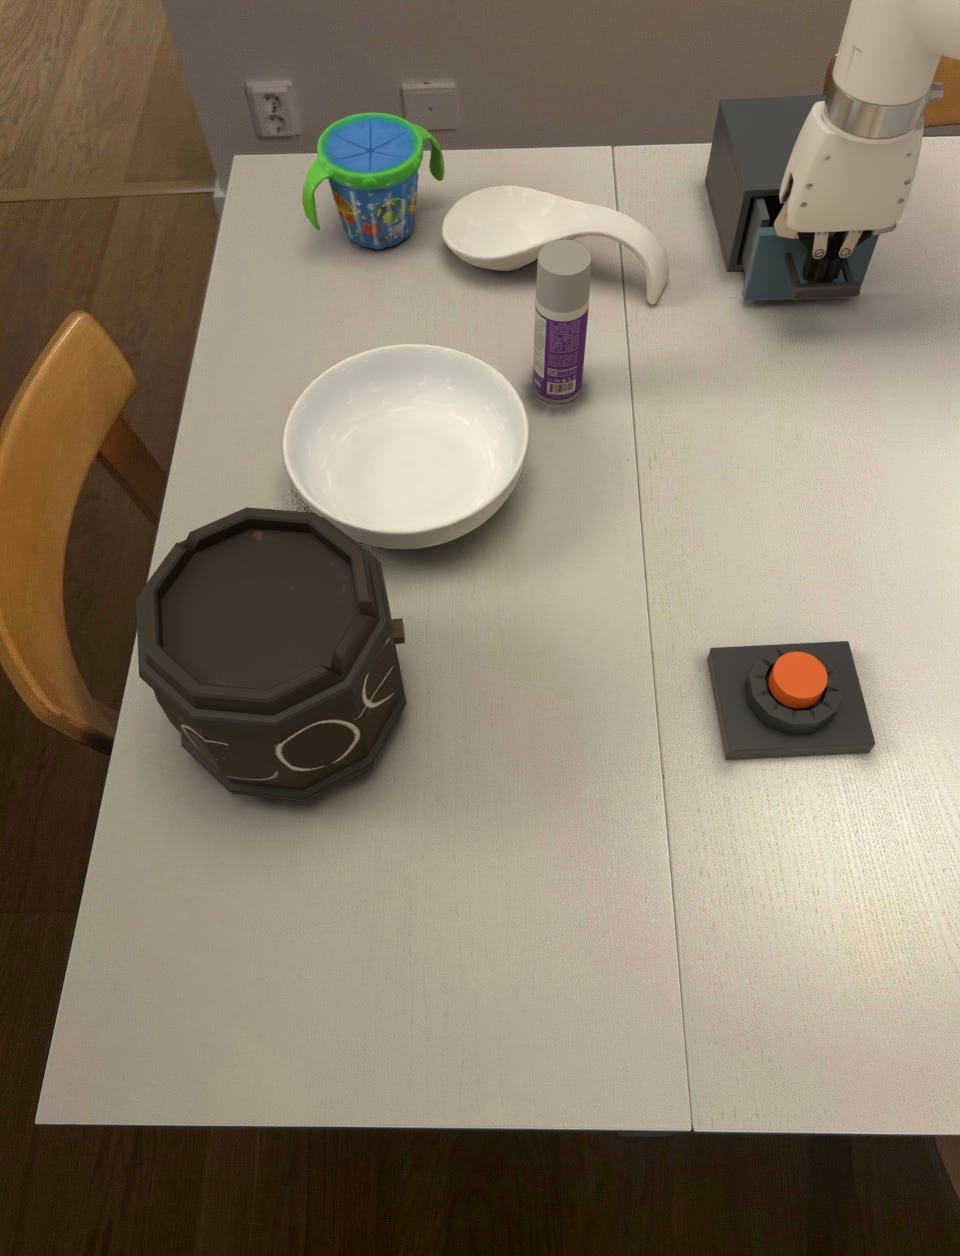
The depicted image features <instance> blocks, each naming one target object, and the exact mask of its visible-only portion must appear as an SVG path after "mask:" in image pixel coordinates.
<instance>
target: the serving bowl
mask: <svg viewBox="0 0 960 1256" xmlns="http://www.w3.org/2000/svg"><path fill="white" fill-rule="evenodd" d="M529 423H530V422H529V418H528V414H527V410H526V407H525V405H524V403H523V400H522V398H521V396H520V395H519V393H518V391H517V390H516V388H515V387H514V386H513V385H512V383H511V382H510V381H509V380H508V379H507V378H506V377H505V376H504V375H503V374H502V373H501V372H499V370H497V369H496V368H495V367H494V366H492V365H490V364H489V363H487V362H485V361H484V360H482V359H481V358H478V357H476V356H474V355H471V354H469V353H467V352H463V351H460V350H458V349H454V348H450V347H446V346H441V345H435V344H434V345H433V344H426V343H403V344H393V345H385V346H380V347H377V348H372V349H368V350H365V351H362V352H359V353H357V354H354V355H352V356H349V357H347V358H345V359H343V360H341V361H339V362H338V363H336V364H334V365H333V366H331V367H330V368H328V369H327V370H325V371H324V372H322V373H321V374H319V376H318V377H316V378H315V379H314V380H313V381H311V382H310V384H309V385H308V386H307V387H305V389H304V390H303V391H302V392H301V394H300V395H299V397H298V398H297V399H296V401H295V403H294V404H293V406H292V408H291V410H290V412H289V415H288V417H287V420H286V423H285V426H284V429H283V435H282V453H283V454H282V455H283V461H284V465H285V469H286V471H287V474H288V477H289V479H290V481H291V483H292V484H293V486H294V488H295V490H296V491H297V493H298V495H299V496H300V498H301V500H302V501H303V502H304V503H305V505H306V506H307V508H309V509H310V511H311V512H313V513H316V514H317V515H318V516H320V517H324V518H326V519H327V520H328V521H330V522H331V523H332V524H333V525H335V526H336V527H337V528H339V529H340V530H341V531H342V532H344V533H345V534H346V535H348V536H349V537H350V538H352V539H353V540H354V541H355V542H359V543H362V544H365V545H368V546H372V547H377V548H383V549H391V550H415V549H416V550H417V549H424V548H429V547H434V546H439V545H443V544H445V543H448V542H452V541H454V540H457V539H458V538H461V537H462V536H465V535H467V534H469V533H470V532H472V531H474V530H476V529H477V528H479V527H480V526H482V524H484V523H485V522H487V521H488V520H489V519H491V517H492V516H494V515H495V513H497V511H498V510H499V509H500V508H502V506H503V505H504V503H505V502H506V501H507V500H508V498H509V497H510V496H511V494H512V492H513V491H514V489H515V487H516V486H517V483H518V481H519V479H520V477H521V475H522V471H523V469H524V466H525V463H526V458H527V453H528V449H529V444H530V443H529V442H530V424H529Z"/></svg>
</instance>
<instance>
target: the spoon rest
mask: <svg viewBox="0 0 960 1256" xmlns="http://www.w3.org/2000/svg"><path fill="white" fill-rule="evenodd" d="M441 235H442V238H443V241H444V243H445V245H446V246H447V247H448V248H449V250H451V251H452V252H453V254H454V255H456V256H457V257H458V258H459V259H461V260H462V261H464V262H465V263H468V264H469V265H472V266H475V267H477V268H480V269H485V270H492V271H493V270H494V271H498V272H509V271H510V272H511V271H516V270H518V269H521V268H523V267H524V266H527V265H528V264H531V263H533V262H534V261H536V260H538V255H539V252H540V250H541V249H542V248H543V247H544V246H545V245H546V244H548V243H550V242H553V241H557V240H572V241H574V240H575V239H579V238H583V237H602V238H607V239H609V240H613V241H615V242H617V243H619V244H620V245H622V246H624V247H625V248H627V249H628V250H630V252H632V253H633V254H634V255H635V257H636V258H637V259H638V260H639V262H640V263H641V266H642V267H643V271H644V274H645V280H646V301H647V302H648V303H649V304H650V305H655V304H657V301H658V300H659V298H660V297H661V295H662V292H663V290H664V289H665V287H666V284H667V282H668V280H669V276H670V261H669V257H668V253H667V251H666V249H665V247H664V245H663V244H662V242H661V241H660V240H659V238H658V237H657V236H656V235H655V234H654V233H653V232H652V231H651V230H650V229H648V228H647V227H646V226H645V225H643V224H642V223H641V222H639V221H638V220H636V219H634V218H633V217H632V216H631V217H630V216H629V215H627V214H625V213H623V212H622V211H621V212H620V211H619V210H615V209H613V208H610V207H607V206H603V205H598V204H592V203H588V202H583V201H579V200H575V199H571V198H567V197H564V196H560V195H557V194H553V193H550V192H546V191H543V190H538V189H535V188H531V187H526V186H521V185H520V186H519V185H496V186H495V185H494V186H489V187H485V188H481V189H477V190H475V191H472V192H470V193H468V194H466V195H465V196H463V197H462V198H460V199H459V200H458V201H456V202H455V203H454V204H453V205H452V207H451V208H449V210H448V211H447V213H446V215H445V216H444V218H443V221H442V224H441Z"/></svg>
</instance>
